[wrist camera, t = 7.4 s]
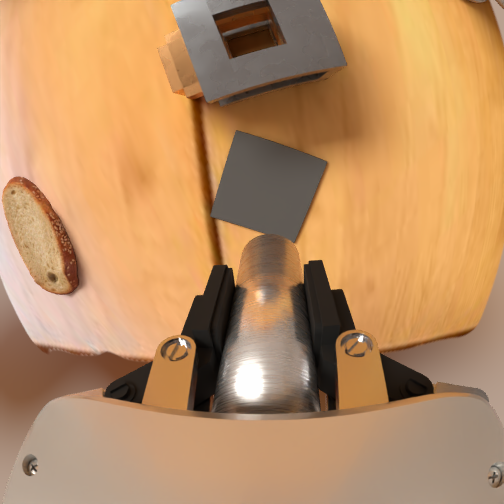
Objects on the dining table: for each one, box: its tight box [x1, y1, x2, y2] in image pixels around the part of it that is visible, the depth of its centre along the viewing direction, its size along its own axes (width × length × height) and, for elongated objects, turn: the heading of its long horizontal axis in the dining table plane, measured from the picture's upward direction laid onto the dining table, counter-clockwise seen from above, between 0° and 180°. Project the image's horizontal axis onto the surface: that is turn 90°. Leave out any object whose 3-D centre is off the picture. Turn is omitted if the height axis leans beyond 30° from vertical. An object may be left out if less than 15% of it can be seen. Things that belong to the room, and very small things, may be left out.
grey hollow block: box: [157, 0, 347, 107], centre depth 19 cm, size 14×10×8 cm
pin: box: [211, 234, 321, 414], centre depth 10 cm, size 3×3×10 cm
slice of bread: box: [2, 177, 79, 295], centre depth 32 cm, size 18×18×4 cm
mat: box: [211, 130, 327, 243], centre depth 29 cm, size 10×10×1 cm
